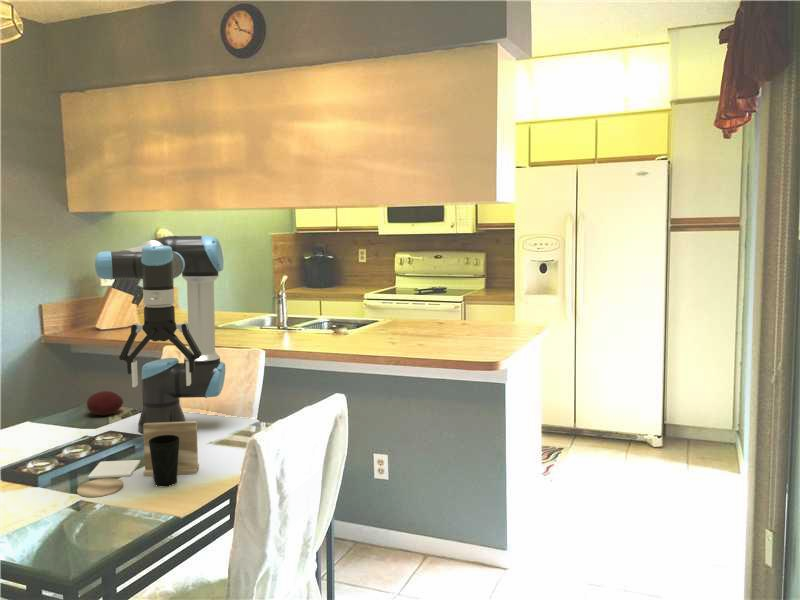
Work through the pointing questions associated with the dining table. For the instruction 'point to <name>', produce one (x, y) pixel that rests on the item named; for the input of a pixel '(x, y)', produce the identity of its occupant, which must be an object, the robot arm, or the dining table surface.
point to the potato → (104, 403)
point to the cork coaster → (100, 487)
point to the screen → (186, 444)
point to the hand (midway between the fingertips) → (162, 385)
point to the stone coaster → (114, 469)
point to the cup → (164, 459)
